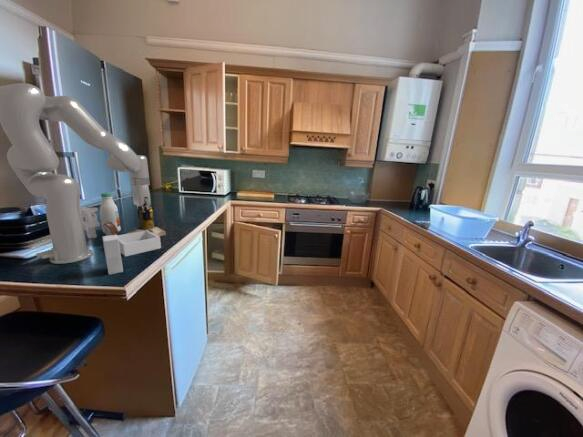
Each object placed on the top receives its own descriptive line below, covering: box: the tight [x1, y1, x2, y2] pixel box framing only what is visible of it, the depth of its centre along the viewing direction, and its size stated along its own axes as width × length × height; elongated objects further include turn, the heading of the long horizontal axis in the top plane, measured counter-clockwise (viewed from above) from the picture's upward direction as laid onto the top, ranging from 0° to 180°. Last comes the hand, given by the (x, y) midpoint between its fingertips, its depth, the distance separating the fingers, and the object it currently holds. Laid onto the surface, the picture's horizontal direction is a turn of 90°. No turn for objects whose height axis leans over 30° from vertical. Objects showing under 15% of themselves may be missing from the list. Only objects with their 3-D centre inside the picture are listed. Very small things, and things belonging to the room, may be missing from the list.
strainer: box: [80, 206, 101, 239], centre depth 119 cm, size 7×7×15 cm
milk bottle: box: [99, 192, 122, 234], centre depth 128 cm, size 8×8×20 cm
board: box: [126, 226, 167, 237], centre depth 126 cm, size 14×11×2 cm
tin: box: [104, 222, 120, 236], centre depth 115 cm, size 15×3×8 cm, turn 47°
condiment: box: [133, 204, 157, 231], centre depth 124 cm, size 7×8×12 cm
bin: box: [117, 230, 162, 257], centre depth 108 cm, size 14×15×5 cm
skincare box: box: [102, 235, 124, 276], centre depth 86 cm, size 6×4×12 cm
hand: (144, 218), depth 124 cm, fingers closed on condiment, 6 cm apart
